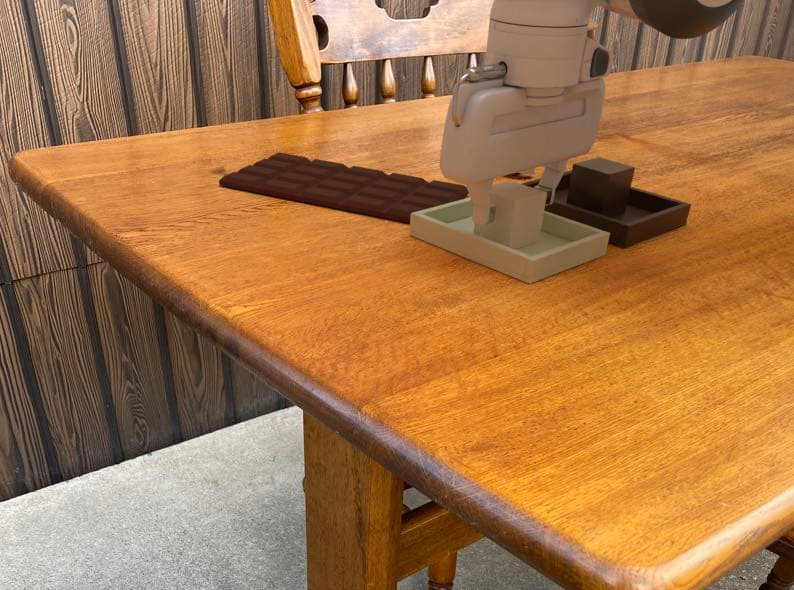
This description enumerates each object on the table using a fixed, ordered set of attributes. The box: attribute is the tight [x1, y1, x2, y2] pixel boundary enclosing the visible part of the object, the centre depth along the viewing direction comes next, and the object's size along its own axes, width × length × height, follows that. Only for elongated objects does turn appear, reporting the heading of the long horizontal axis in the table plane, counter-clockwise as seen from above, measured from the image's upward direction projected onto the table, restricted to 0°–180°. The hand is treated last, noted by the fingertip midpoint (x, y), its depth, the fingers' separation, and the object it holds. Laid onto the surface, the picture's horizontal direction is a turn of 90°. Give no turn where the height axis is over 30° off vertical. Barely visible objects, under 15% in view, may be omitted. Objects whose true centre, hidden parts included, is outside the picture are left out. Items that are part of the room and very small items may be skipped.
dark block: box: [566, 156, 636, 217], centre depth 89 cm, size 5×5×5 cm
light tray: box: [409, 197, 610, 285], centre depth 82 cm, size 17×13×2 cm
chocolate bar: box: [218, 152, 469, 224], centre depth 94 cm, size 27×14×1 cm, turn 65°
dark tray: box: [521, 169, 692, 249], centre depth 91 cm, size 17×13×2 cm
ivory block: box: [473, 180, 547, 250], centre depth 81 cm, size 5×5×5 cm
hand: (513, 213), depth 81 cm, fingers open, 8 cm apart
